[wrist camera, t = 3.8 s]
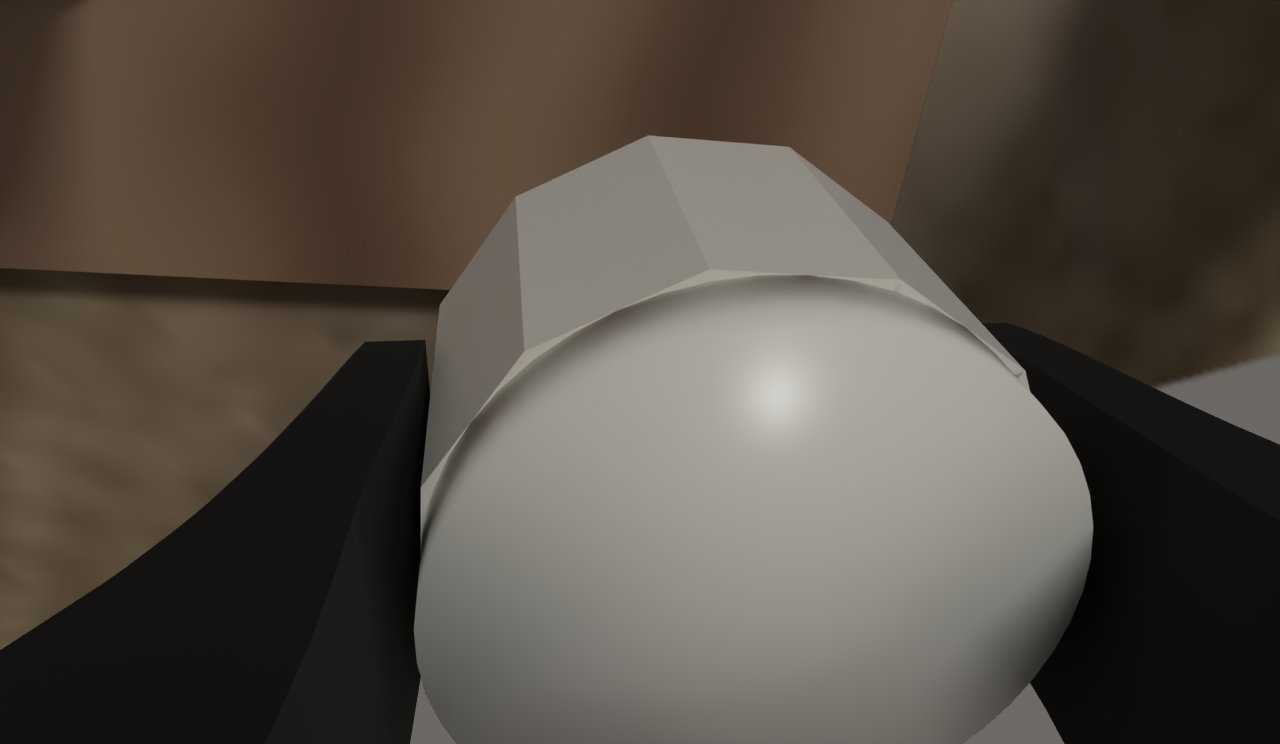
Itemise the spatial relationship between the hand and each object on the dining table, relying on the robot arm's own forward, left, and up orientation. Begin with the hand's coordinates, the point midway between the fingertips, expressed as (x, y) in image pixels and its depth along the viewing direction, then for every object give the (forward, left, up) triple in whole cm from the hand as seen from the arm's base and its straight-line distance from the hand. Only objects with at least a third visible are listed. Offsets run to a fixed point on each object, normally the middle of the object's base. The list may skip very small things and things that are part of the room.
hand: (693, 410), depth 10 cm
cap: (0, 0, -1) cm, 1 cm away
